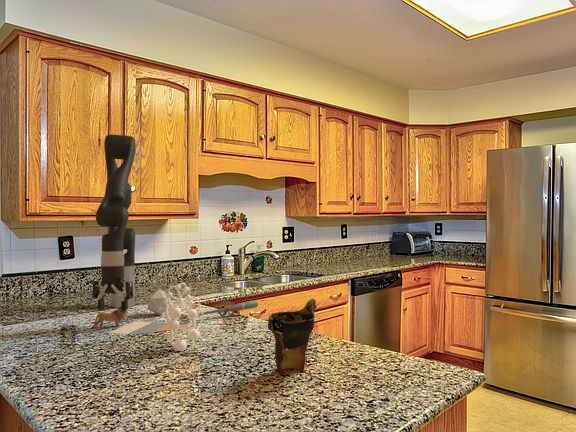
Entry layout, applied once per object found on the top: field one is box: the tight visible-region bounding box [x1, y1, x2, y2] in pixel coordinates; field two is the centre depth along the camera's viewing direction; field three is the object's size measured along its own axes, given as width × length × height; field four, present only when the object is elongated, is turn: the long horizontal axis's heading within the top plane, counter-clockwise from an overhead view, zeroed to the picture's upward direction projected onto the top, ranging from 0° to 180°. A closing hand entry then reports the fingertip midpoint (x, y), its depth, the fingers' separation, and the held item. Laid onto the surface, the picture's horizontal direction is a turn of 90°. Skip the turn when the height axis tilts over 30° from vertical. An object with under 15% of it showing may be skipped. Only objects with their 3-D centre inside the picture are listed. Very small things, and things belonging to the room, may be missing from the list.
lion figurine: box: [91, 307, 129, 330], centre depth 161 cm, size 12×4×7 cm, turn 116°
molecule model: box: [164, 282, 205, 352], centre depth 133 cm, size 19×14×4 cm
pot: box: [267, 298, 317, 376], centre depth 113 cm, size 17×11×18 cm, turn 141°
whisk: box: [179, 299, 259, 323], centre depth 176 cm, size 11×32×7 cm, turn 123°
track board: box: [89, 320, 189, 335], centre depth 159 cm, size 28×16×1 cm, turn 78°
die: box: [146, 289, 172, 316], centre depth 180 cm, size 8×9×10 cm
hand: (112, 311), depth 161 cm, fingers open, 8 cm apart
